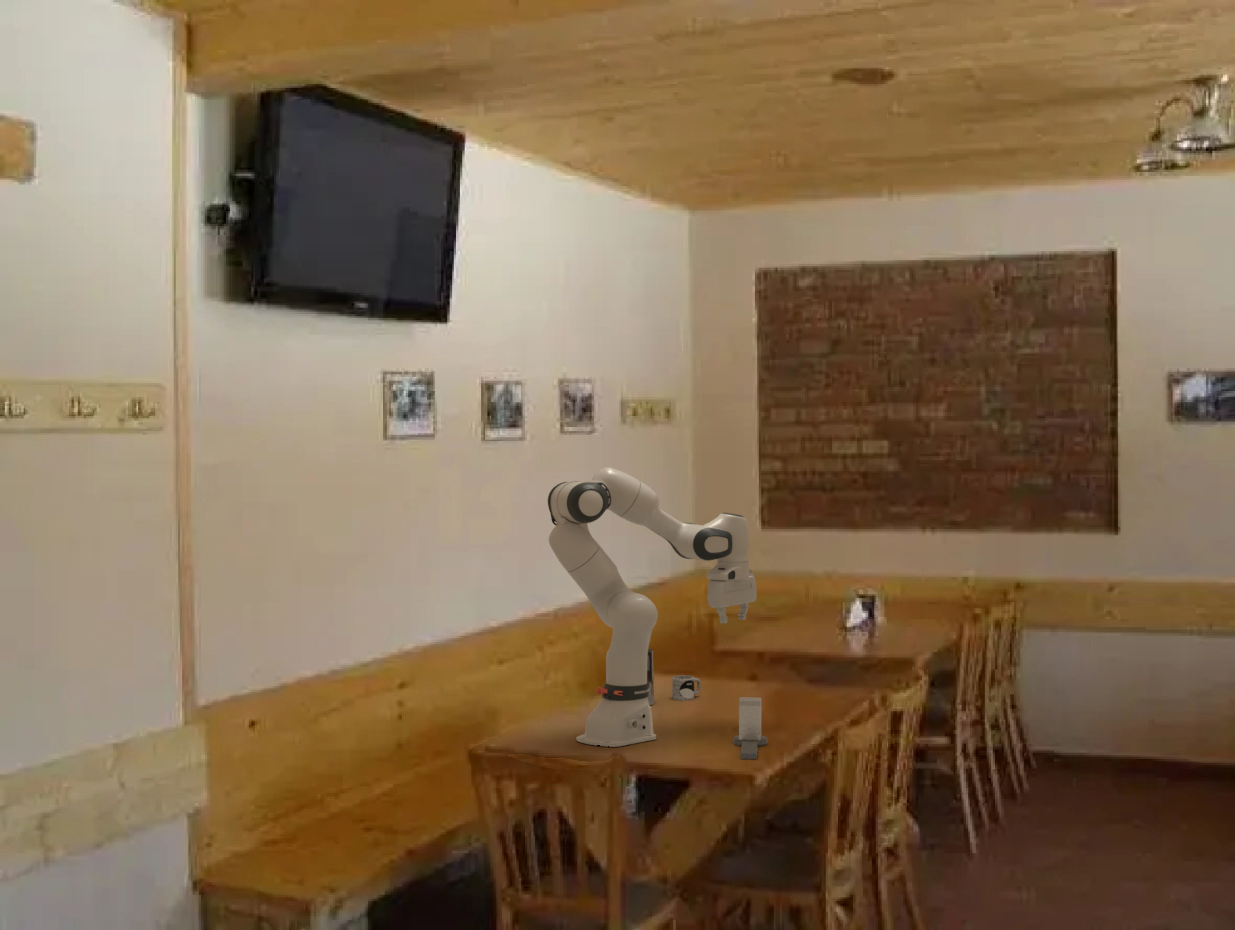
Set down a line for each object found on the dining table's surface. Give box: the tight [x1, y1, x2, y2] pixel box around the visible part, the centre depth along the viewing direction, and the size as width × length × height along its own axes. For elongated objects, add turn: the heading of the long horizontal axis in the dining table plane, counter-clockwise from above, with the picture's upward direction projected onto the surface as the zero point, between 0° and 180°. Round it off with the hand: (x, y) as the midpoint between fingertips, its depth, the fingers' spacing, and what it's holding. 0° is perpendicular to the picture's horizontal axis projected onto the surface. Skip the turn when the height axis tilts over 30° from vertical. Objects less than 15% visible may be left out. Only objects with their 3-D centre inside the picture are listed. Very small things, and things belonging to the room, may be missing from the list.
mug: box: [671, 674, 702, 702], centre depth 465 cm, size 10×7×7 cm
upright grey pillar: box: [738, 696, 762, 740], centre depth 399 cm, size 6×6×10 cm
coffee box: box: [647, 648, 655, 706], centre depth 456 cm, size 9×6×16 cm
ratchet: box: [732, 734, 768, 760], centre depth 392 cm, size 24×9×6 cm, turn 174°
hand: (732, 621), depth 421 cm, fingers open, 8 cm apart
